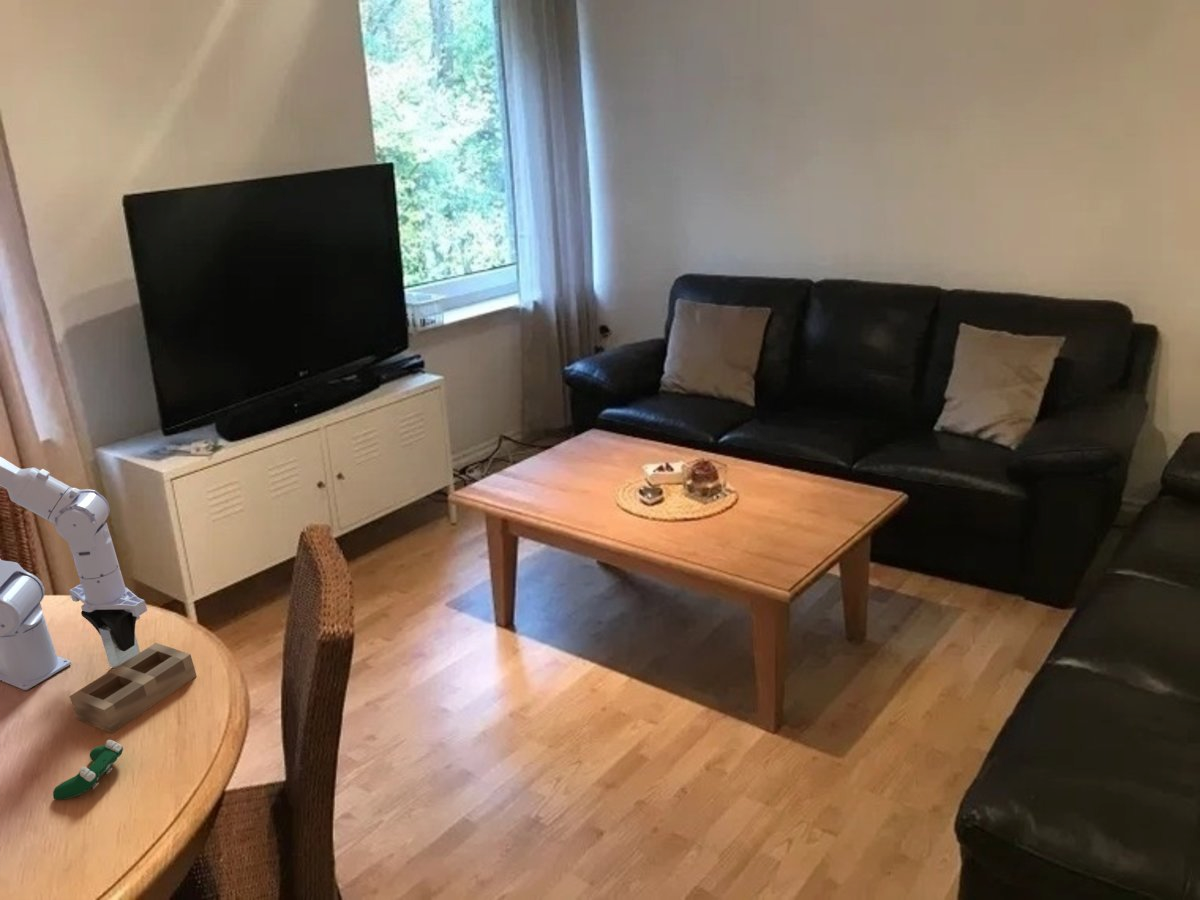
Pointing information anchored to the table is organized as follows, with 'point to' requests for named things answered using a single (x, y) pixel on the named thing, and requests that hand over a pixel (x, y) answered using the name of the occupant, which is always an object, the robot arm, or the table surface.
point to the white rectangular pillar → (116, 647)
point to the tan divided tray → (133, 687)
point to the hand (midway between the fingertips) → (121, 645)
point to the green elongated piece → (90, 771)
